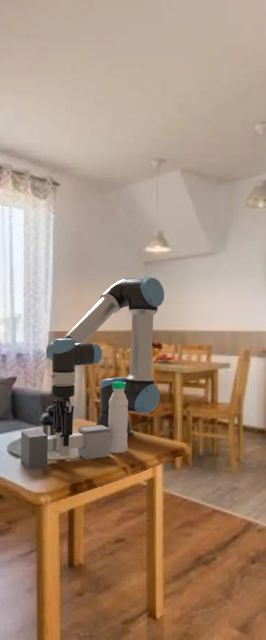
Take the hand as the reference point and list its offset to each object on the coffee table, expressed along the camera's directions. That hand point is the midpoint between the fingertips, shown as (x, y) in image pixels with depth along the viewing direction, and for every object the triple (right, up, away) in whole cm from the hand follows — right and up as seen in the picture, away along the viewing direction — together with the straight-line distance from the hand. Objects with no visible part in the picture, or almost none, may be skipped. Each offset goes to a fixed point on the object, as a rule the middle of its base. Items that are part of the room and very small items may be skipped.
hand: (62, 453), depth 157 cm
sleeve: (+10, -2, +6) cm, 12 cm away
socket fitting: (-9, -2, -5) cm, 10 cm away
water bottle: (+18, -3, +11) cm, 22 cm away
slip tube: (+3, +2, +2) cm, 4 cm away
